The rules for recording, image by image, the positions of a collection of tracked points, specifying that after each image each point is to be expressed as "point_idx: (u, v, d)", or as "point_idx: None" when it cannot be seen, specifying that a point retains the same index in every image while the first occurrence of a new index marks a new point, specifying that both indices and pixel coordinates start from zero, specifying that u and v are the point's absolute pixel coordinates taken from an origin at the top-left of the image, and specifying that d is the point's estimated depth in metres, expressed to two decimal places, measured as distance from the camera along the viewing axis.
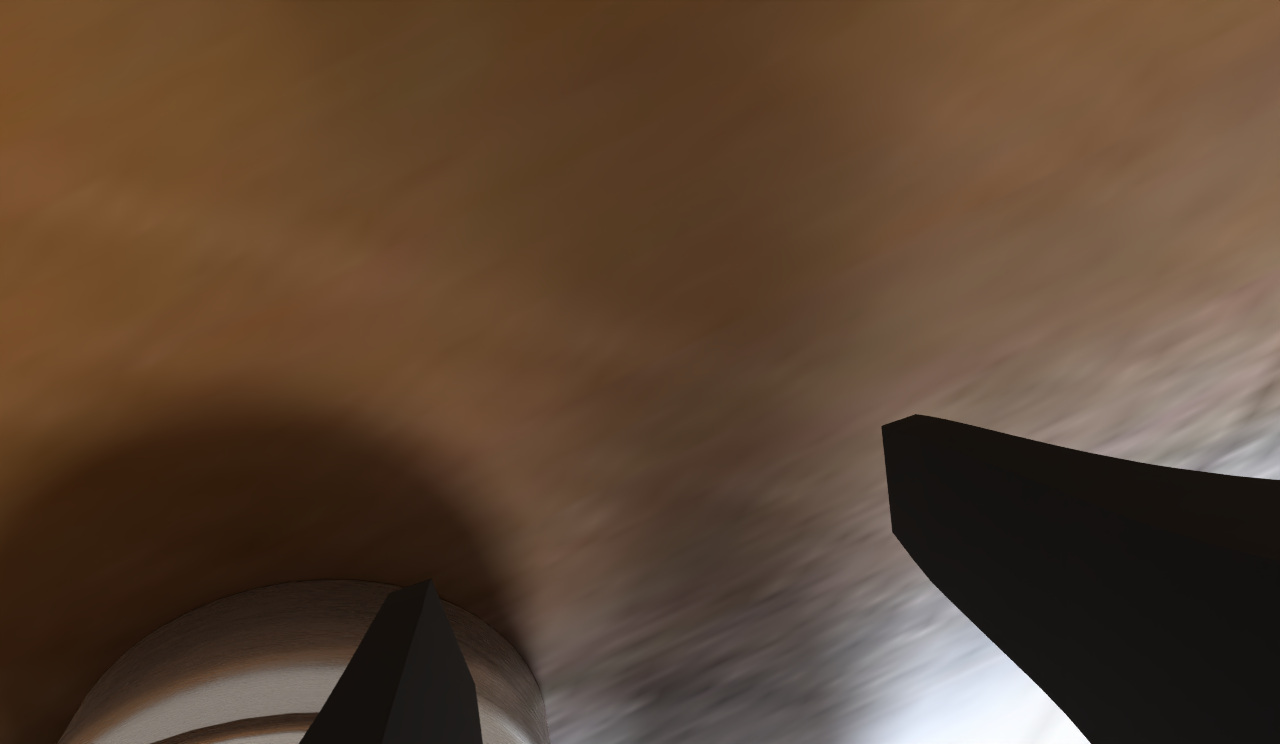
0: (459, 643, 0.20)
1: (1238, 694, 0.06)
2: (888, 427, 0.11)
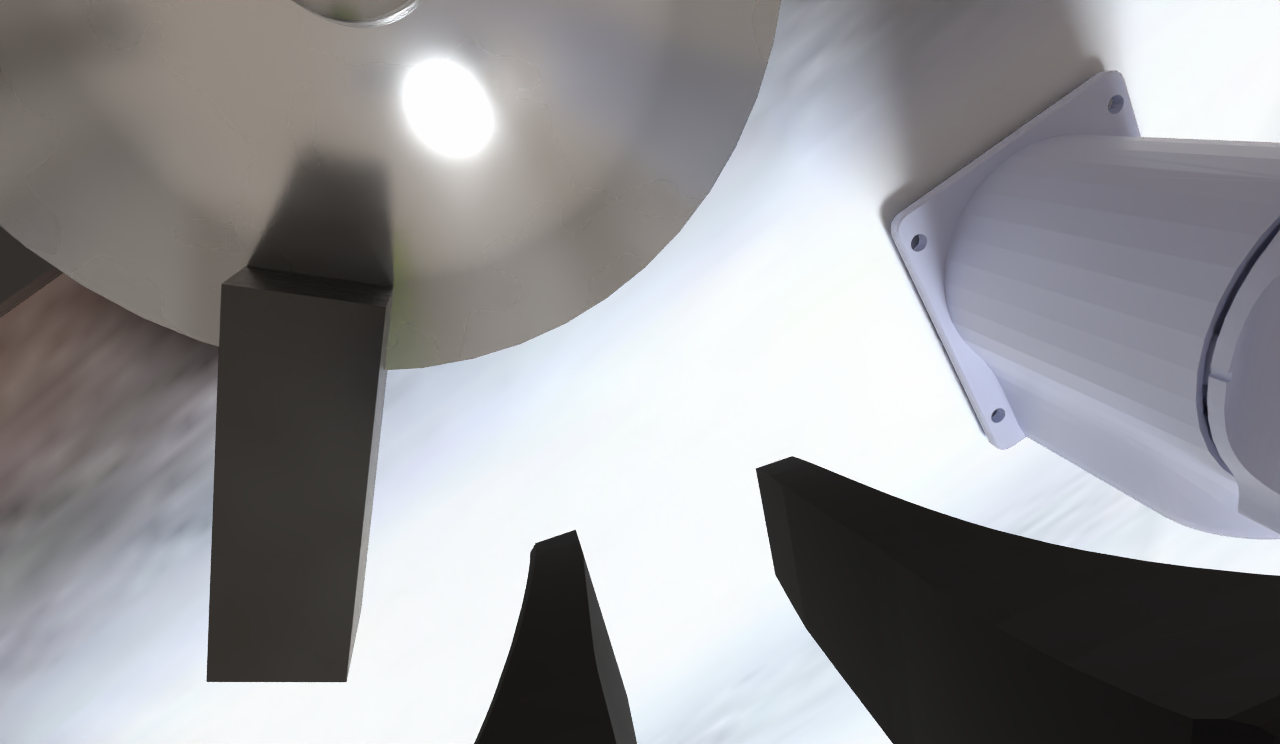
0: None
1: None
2: (760, 470, 0.11)
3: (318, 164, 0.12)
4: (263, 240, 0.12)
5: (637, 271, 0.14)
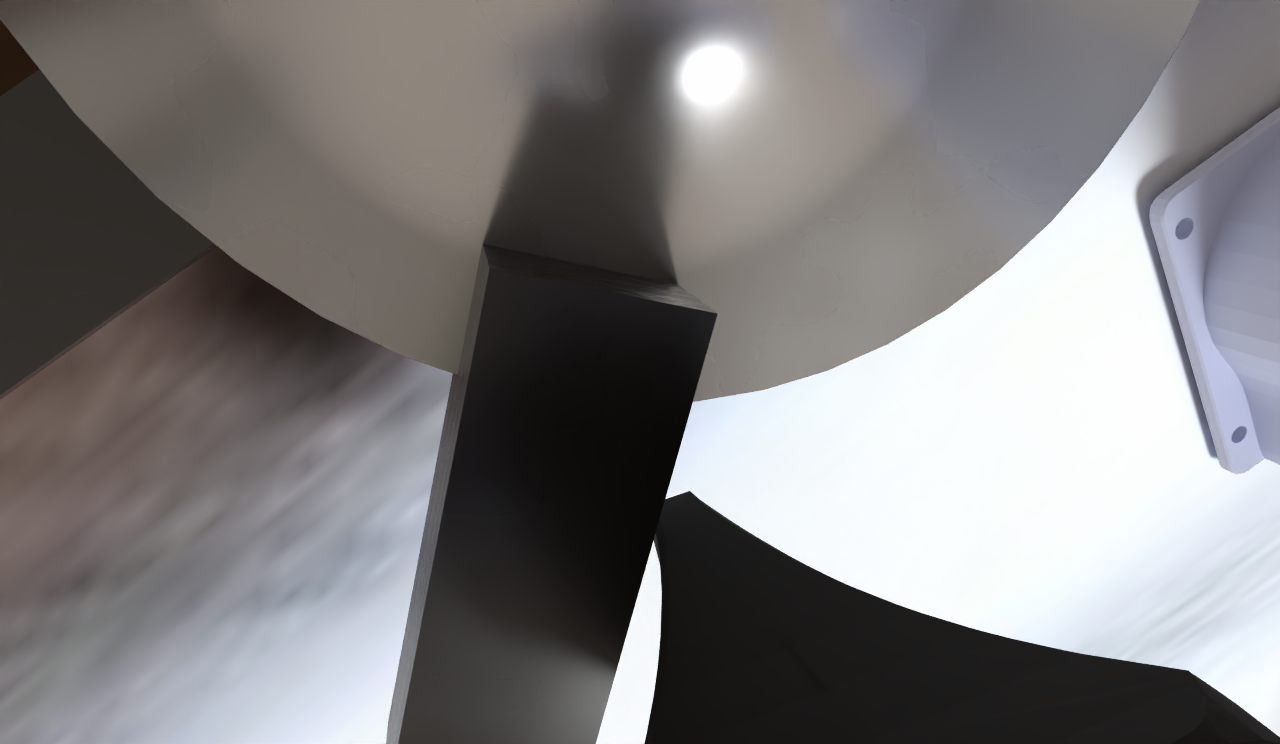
0: None
1: None
2: None
3: (606, 95, 0.08)
4: (512, 206, 0.08)
5: (990, 274, 0.10)
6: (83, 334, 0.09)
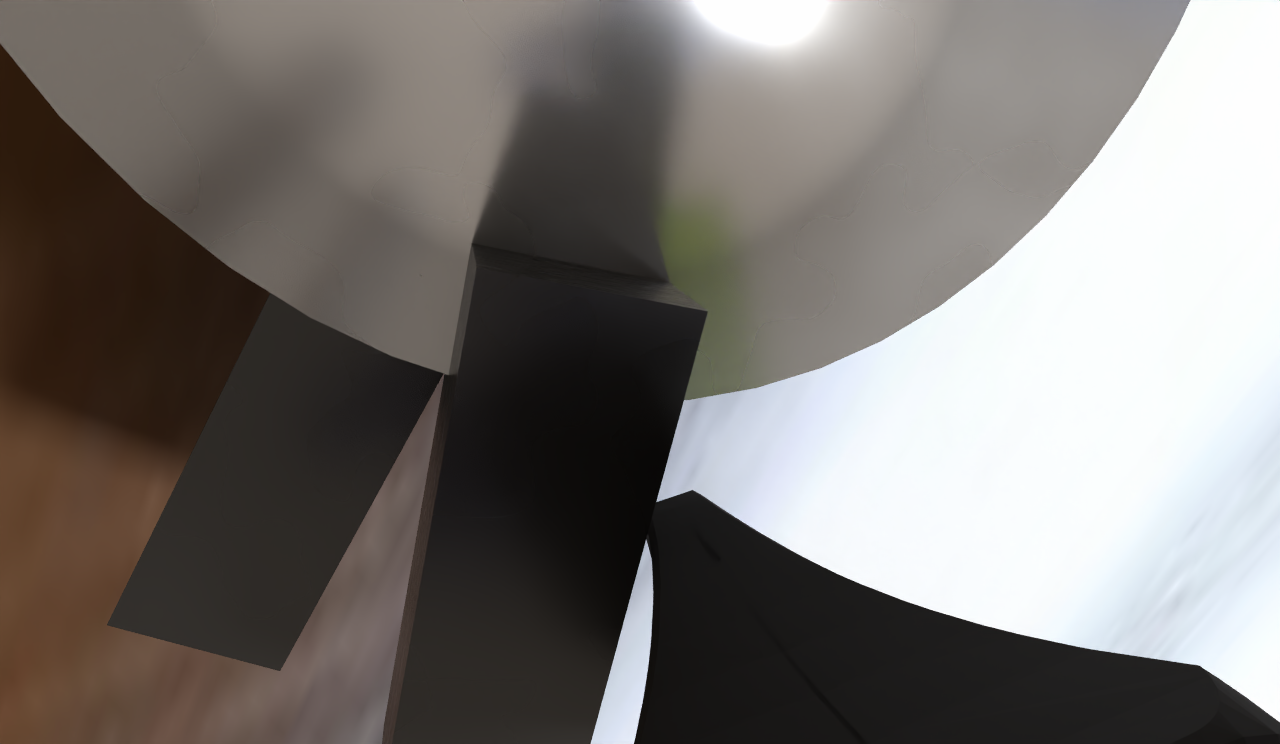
0: None
1: None
2: (658, 505, 0.10)
3: (594, 91, 0.08)
4: (500, 205, 0.08)
5: (984, 270, 0.10)
6: (380, 485, 0.10)
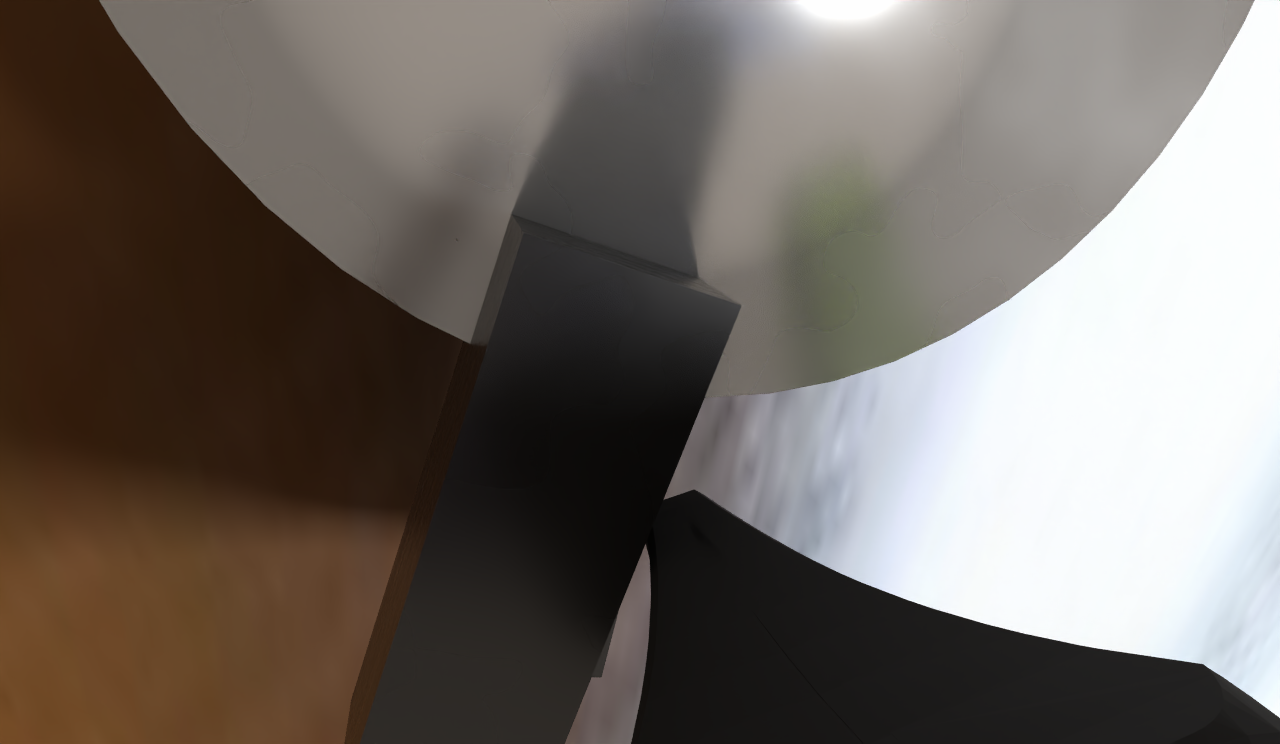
0: None
1: None
2: None
3: (650, 79, 0.08)
4: (545, 179, 0.08)
5: (999, 303, 0.10)
6: None
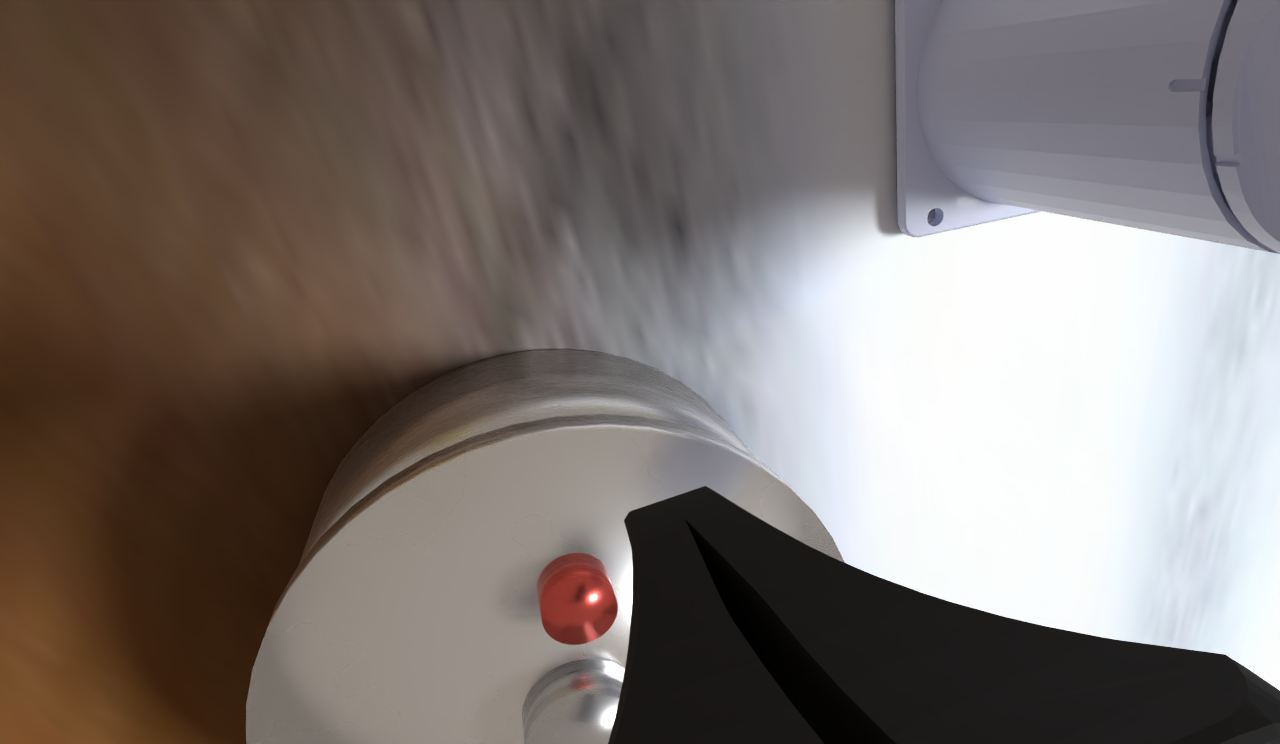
0: (359, 456, 0.18)
1: None
2: (671, 501, 0.10)
3: None
4: None
5: None
6: None
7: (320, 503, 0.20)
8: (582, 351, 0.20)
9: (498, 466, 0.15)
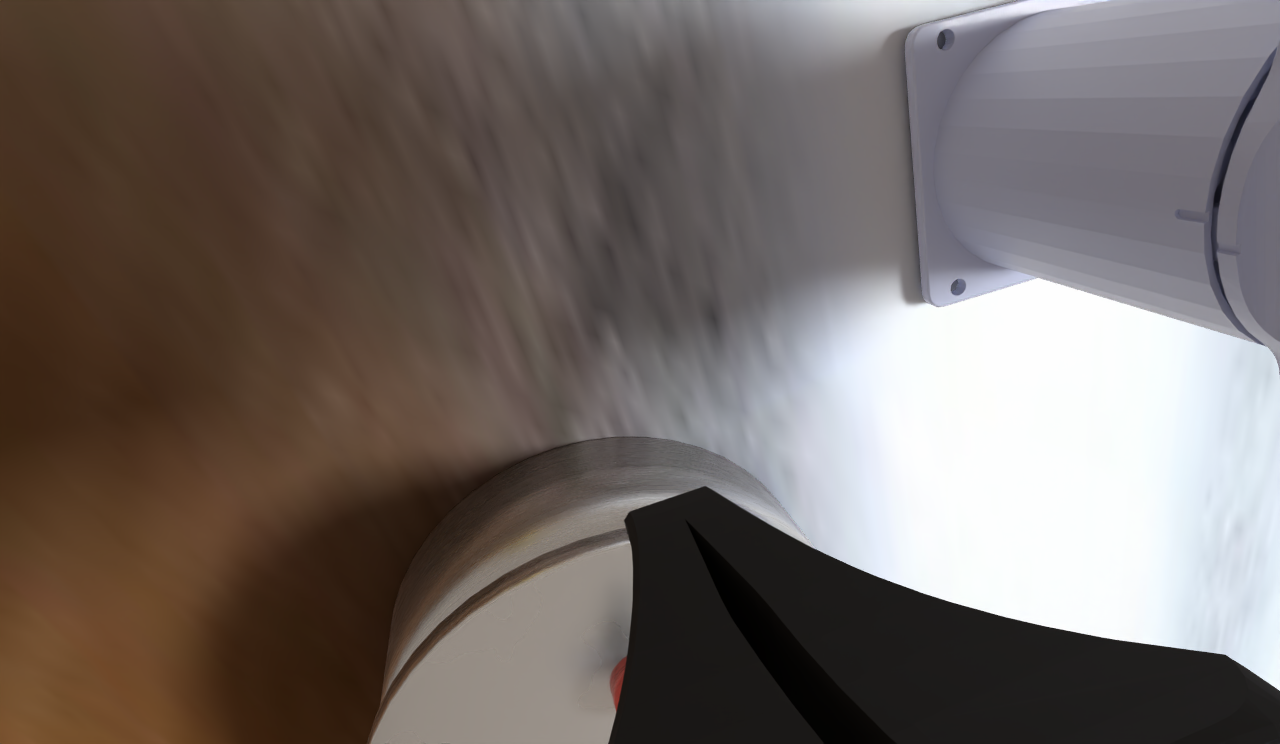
0: (434, 558, 0.20)
1: None
2: (670, 501, 0.10)
3: None
4: None
5: None
6: None
7: (398, 596, 0.21)
8: (630, 438, 0.22)
9: (570, 583, 0.16)
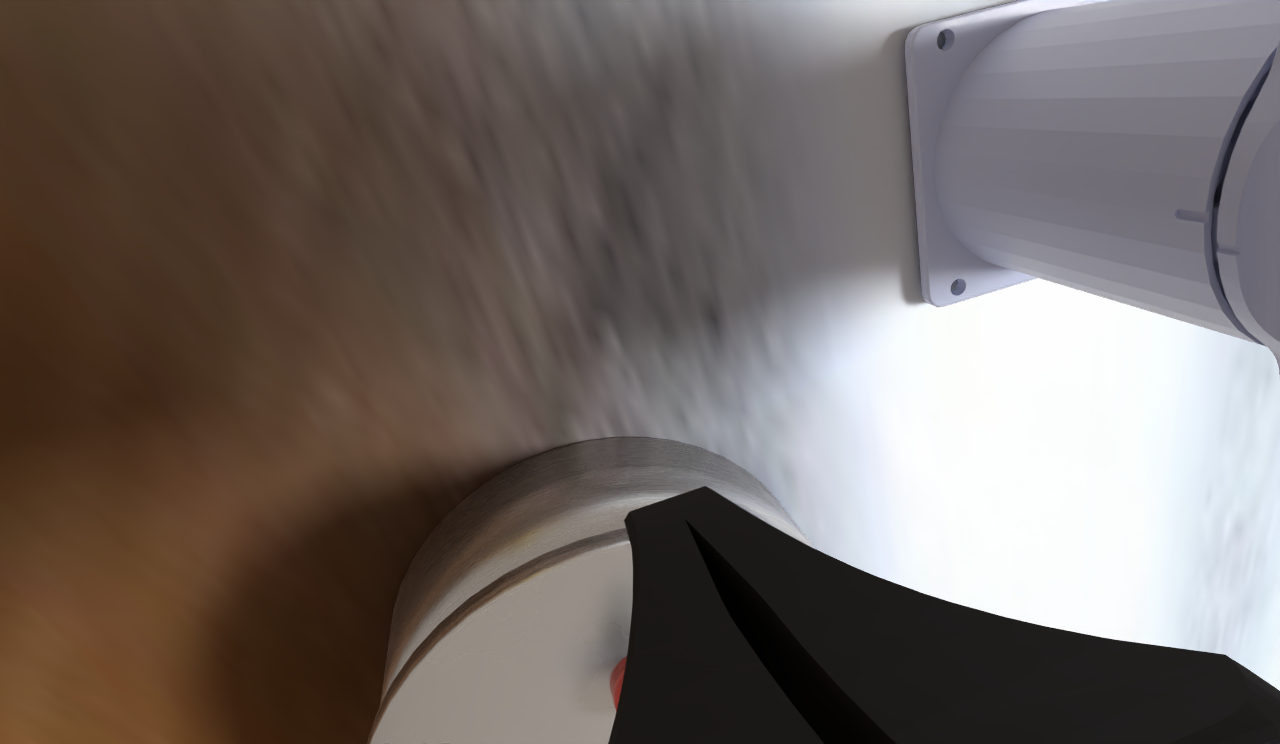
0: (434, 558, 0.20)
1: None
2: (670, 501, 0.10)
3: None
4: None
5: None
6: None
7: (398, 596, 0.21)
8: (630, 438, 0.22)
9: (570, 583, 0.16)
